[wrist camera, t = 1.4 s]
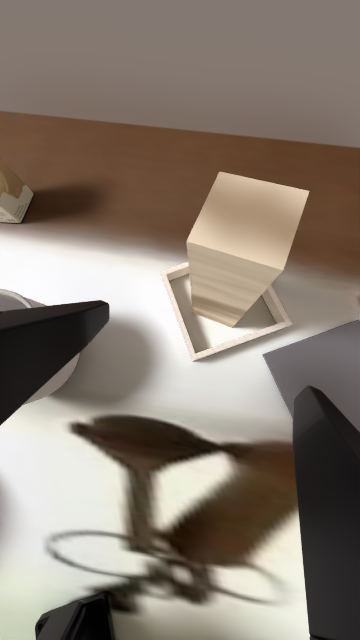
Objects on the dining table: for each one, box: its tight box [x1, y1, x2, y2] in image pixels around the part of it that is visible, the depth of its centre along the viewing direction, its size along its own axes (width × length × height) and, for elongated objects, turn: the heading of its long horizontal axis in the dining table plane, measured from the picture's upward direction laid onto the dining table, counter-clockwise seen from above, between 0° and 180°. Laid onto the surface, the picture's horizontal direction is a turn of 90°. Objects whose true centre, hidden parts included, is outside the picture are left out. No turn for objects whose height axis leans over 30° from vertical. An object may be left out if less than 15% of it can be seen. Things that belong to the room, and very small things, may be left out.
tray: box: [160, 262, 292, 361], centre depth 21 cm, size 11×11×2 cm
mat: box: [263, 320, 360, 432], centre depth 18 cm, size 11×11×1 cm
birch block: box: [187, 172, 309, 328], centre depth 16 cm, size 5×5×13 cm
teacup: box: [0, 289, 80, 405], centre depth 19 cm, size 14×11×8 cm
